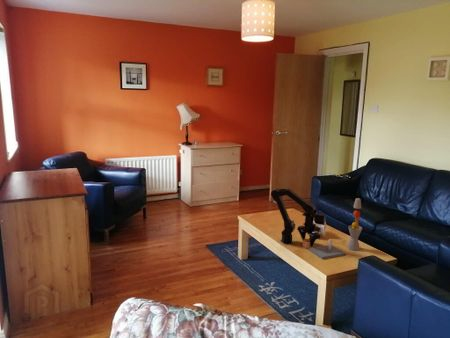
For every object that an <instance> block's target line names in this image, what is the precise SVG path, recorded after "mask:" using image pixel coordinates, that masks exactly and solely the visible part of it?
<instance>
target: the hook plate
mask: <svg viewBox="0 0 450 338" xmlns="http://www.w3.org/2000/svg"><path fill="white" fill-rule="evenodd" d="M308 249H309V250H308V251H309V252H311V253H312V254H314V255H315V256H316V257H318V258H319V259H321V260H325V259H330V258H331V257H332V258H337V257H343V256H346V252H344V251H343V250H341V249H339V248H338V247H336V246H334V245H333V239H331V238H329V239H328V241H327V245H321V246H320V245H319V246H313V248H308Z"/></svg>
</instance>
